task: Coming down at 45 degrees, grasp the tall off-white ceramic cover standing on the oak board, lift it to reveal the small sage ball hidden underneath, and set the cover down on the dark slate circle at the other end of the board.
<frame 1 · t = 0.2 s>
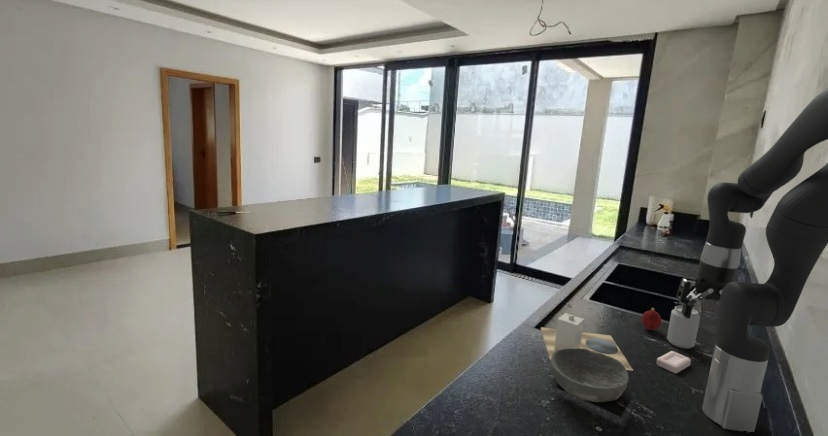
hand: (704, 319, 100), 18 cm above the worktop, tool pointing down, fingers open, 8 cm apart
ball: (567, 349, 115), point 1 cm above the worktop, touching board
cover: (567, 349, 115), point 1 cm above the worktop, touching board
onion: (649, 330, 132), on the worktop
bowl: (584, 393, 97), on the worktop
can: (679, 344, 124), on the worktop
board: (581, 351, 117), on the worktop
soap bar: (672, 366, 112), on the worktop
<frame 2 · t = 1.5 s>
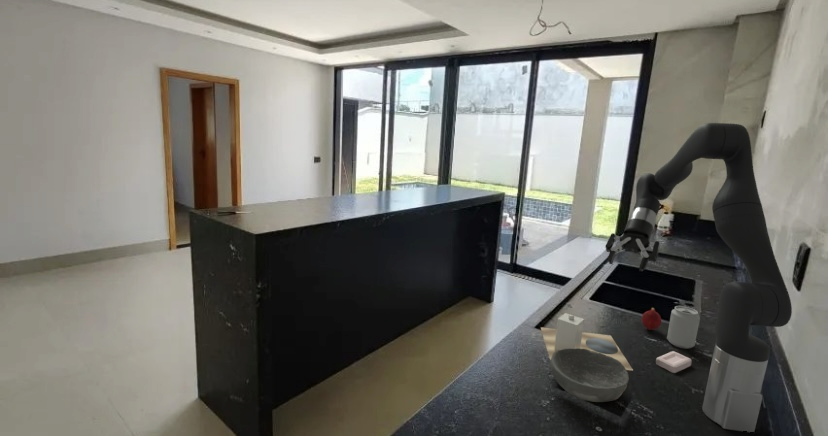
hand: (625, 266, 117), 26 cm above the worktop, tool tilted 45°, fingers open, 8 cm apart
nothing on the worktop moved.
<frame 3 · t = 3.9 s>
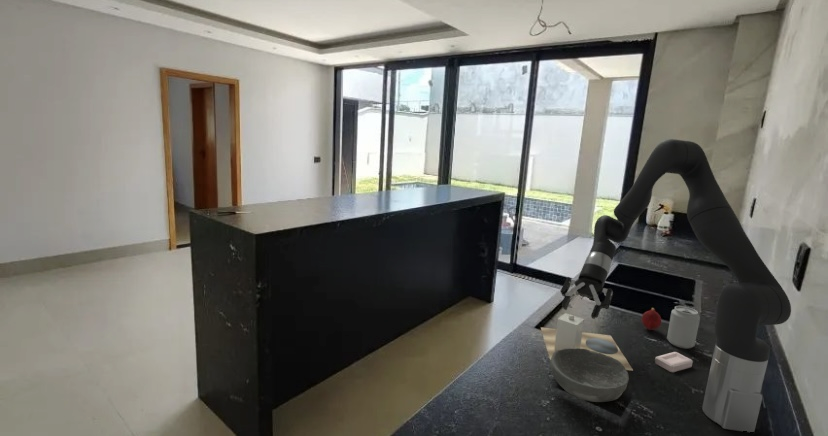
hand: (578, 313, 117), 12 cm above the worktop, tool tilted 45°, fingers open, 8 cm apart
nothing on the worktop moved.
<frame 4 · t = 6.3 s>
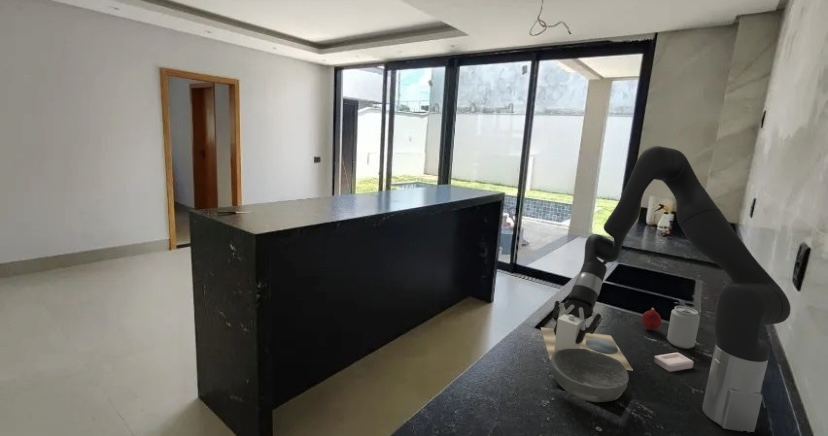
hand: (566, 338, 112), 6 cm above the worktop, tool tilted 45°, fingers closed on cover, 5 cm apart
cover: (567, 349, 115), point 2 cm above the worktop, touching board, gripper
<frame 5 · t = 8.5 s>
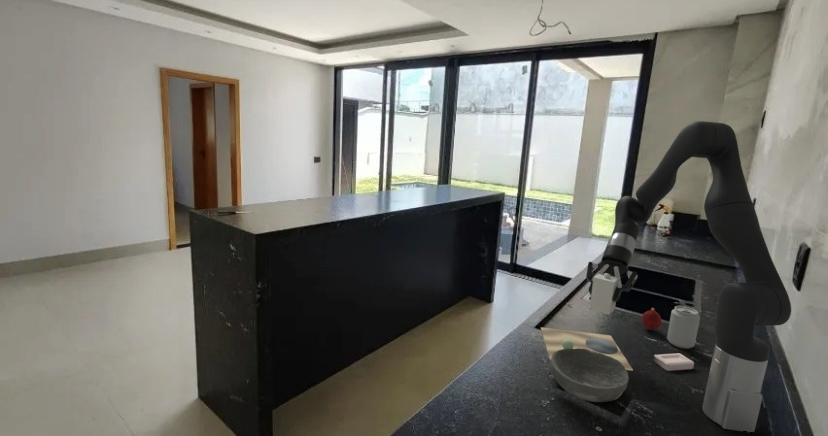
hand: (602, 297, 112), 18 cm above the worktop, tool tilted 45°, fingers closed on cover, 5 cm apart
cover: (602, 308, 115), point 14 cm above the worktop, touching gripper
when the fingers open (7 cm above the worktop, at t = 11.2 s): cover drops 1 cm, resting on board.
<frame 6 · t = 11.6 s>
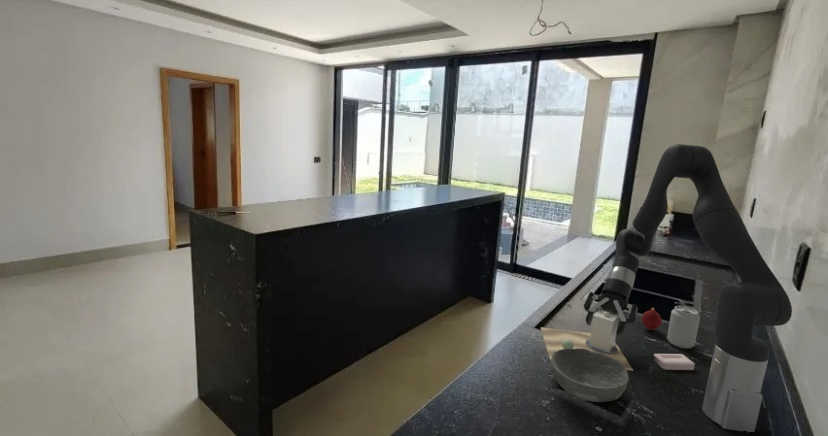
hand: (602, 329, 115), 8 cm above the worktop, tool tilted 45°, fingers open, 8 cm apart
cover: (601, 345, 117), point 2 cm above the worktop, touching board
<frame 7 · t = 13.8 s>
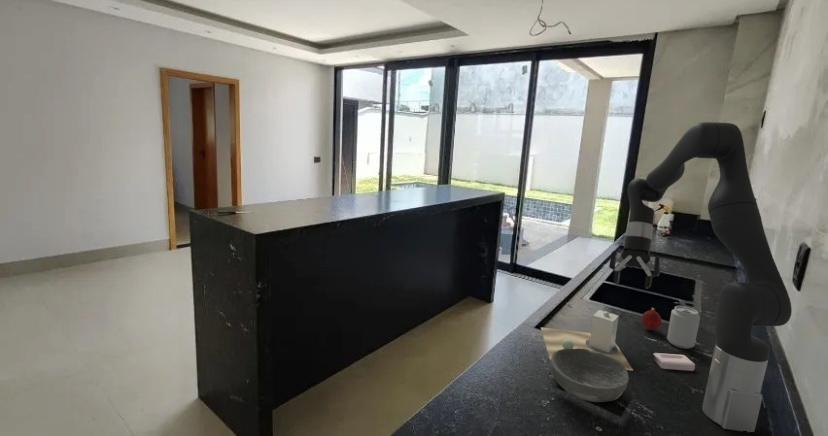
hand: (631, 285, 124), 18 cm above the worktop, tool tilted 25°, fingers open, 8 cm apart
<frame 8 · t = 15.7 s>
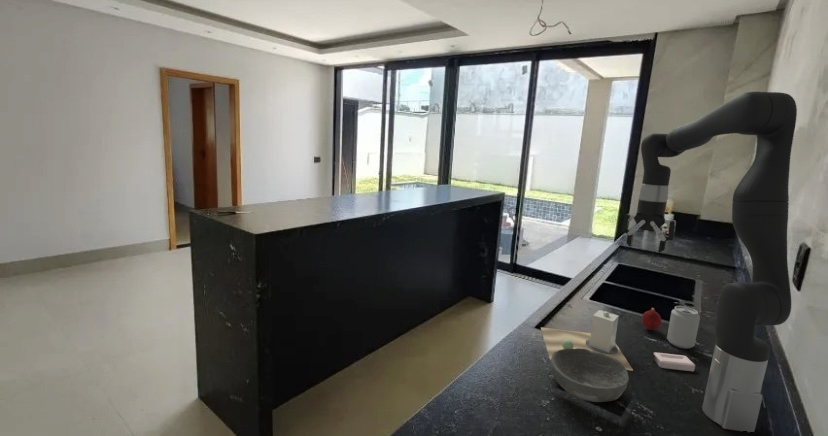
hand: (644, 249, 122), 30 cm above the worktop, tool pointing down, fingers open, 8 cm apart
at the end: cover inside the target area (0.1 cm from its centre), point 1.6 cm above the worktop; cover tilted 0°; cover moved 12.2 cm from its start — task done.
